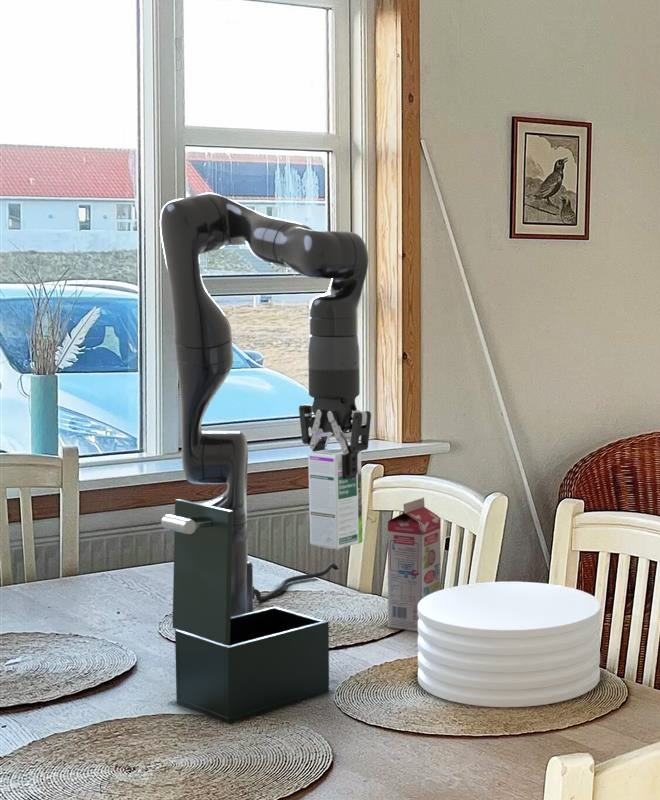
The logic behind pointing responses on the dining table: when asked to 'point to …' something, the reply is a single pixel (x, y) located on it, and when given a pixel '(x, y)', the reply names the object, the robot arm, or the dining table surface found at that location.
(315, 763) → the dining table surface
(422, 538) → the juice carton
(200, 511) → the bin lid
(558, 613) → the plate stack
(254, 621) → the bin
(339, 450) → the syrup box
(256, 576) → the dining table surface
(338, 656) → the dining table surface
